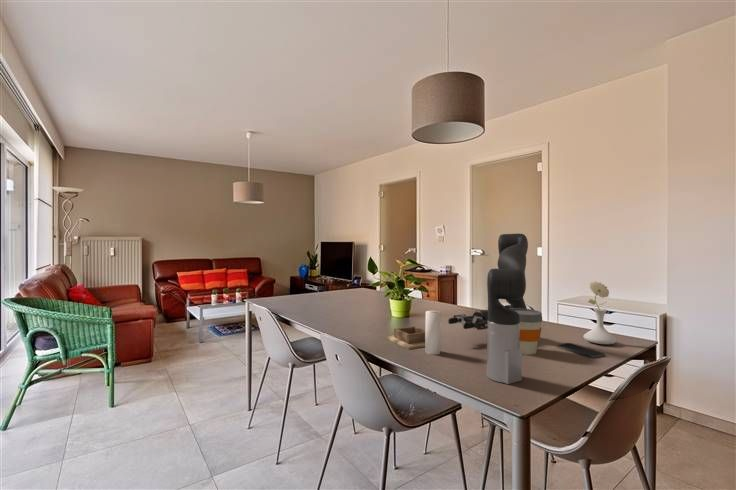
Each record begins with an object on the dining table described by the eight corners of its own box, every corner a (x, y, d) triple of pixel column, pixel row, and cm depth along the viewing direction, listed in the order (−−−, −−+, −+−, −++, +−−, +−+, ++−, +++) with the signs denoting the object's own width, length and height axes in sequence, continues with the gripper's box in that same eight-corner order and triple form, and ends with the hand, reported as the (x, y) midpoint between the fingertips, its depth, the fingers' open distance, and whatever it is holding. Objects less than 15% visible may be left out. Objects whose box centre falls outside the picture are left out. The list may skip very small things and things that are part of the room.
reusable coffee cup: (545, 357, 130) (546, 315, 129) (508, 354, 132) (509, 314, 132) (536, 347, 142) (537, 309, 142) (503, 344, 144) (503, 307, 144)
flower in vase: (623, 347, 143) (624, 284, 142) (593, 346, 143) (595, 283, 143) (602, 337, 156) (603, 280, 155) (575, 337, 156) (576, 279, 156)
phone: (591, 356, 129) (555, 344, 142) (591, 359, 129) (555, 347, 143) (606, 354, 132) (569, 342, 146) (606, 357, 132) (569, 345, 146)
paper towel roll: (443, 353, 133) (444, 312, 133) (431, 355, 131) (431, 314, 130) (434, 349, 138) (434, 309, 138) (422, 351, 136) (422, 311, 135)
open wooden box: (437, 344, 144) (437, 333, 144) (408, 349, 138) (408, 337, 138) (414, 334, 159) (414, 324, 158) (387, 338, 152) (387, 327, 152)
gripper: (474, 306, 153) (444, 310, 146) (501, 313, 141) (469, 317, 133) (474, 324, 154) (444, 328, 146) (500, 332, 141) (469, 338, 133)
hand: (456, 323), depth 140 cm, fingers open, 8 cm apart
